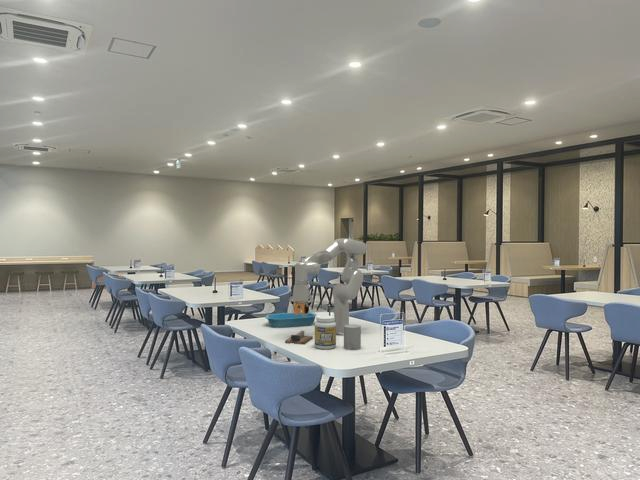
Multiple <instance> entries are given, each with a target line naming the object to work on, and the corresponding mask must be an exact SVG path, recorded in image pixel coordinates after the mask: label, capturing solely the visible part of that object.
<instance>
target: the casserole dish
mask: <svg viewBox="0 0 640 480" xmlns="http://www.w3.org/2000/svg"><path fill="white" fill-rule="evenodd" d="M317 314H318V313H317ZM317 314H316V313H315V312H310V311H309V312H308V314H307V315H305V316H302V311H301V313H300V314H298V315H294V312H281V313H280V312H279V313H270V314H269V313H268V314H267V315H266V316H264V318H265V319H266V320H267V322H268V323H269V325H270V326H271V327H273V328H279V329H280V328H281V329H282V328H292V327H293V328H294V327H295V328H296V327H308V326H309V327H310V326H312V325H313V324H315V321H316V317H317V316H318V315H317Z"/></svg>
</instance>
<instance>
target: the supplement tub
mask: <svg viewBox="0 0 640 480" xmlns="http://www.w3.org/2000/svg"><path fill="white" fill-rule="evenodd" d="M334 320H335V317H334V315H333V316H332V315H316V317H315V321H314V344H313V345H314V347H315V348H316V349H320V350H331V349H335V348H336V346H337V334H336V323H335V322H334Z"/></svg>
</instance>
